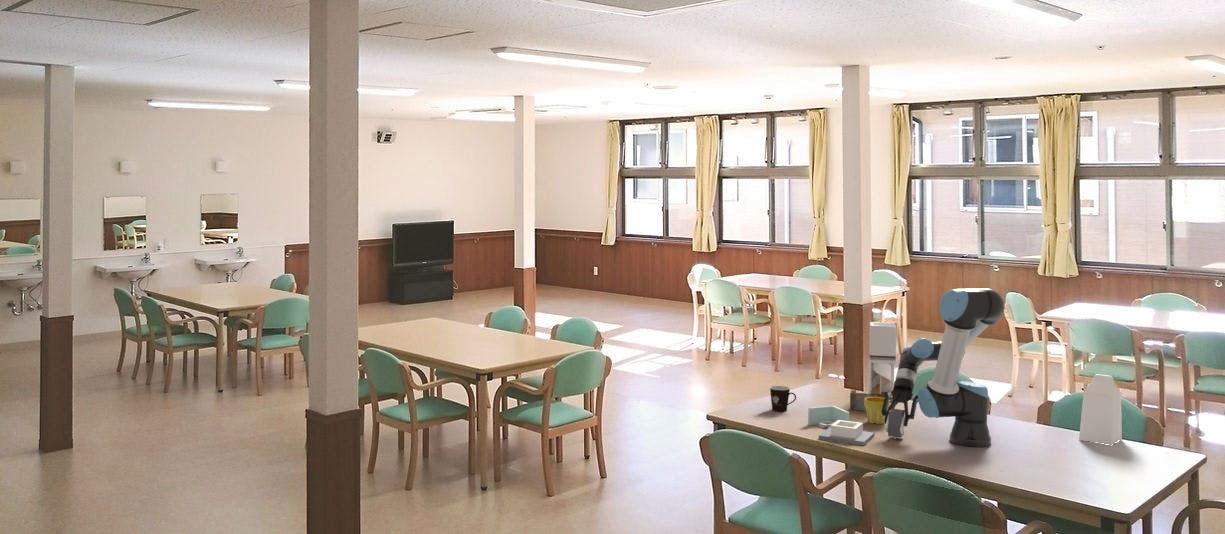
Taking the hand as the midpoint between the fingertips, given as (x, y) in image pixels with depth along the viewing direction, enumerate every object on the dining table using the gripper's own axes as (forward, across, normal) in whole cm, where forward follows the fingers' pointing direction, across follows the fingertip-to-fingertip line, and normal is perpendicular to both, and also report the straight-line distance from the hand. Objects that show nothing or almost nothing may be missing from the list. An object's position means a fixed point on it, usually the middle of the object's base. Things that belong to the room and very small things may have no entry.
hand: (893, 431), depth 372 cm
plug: (0, 0, -5) cm, 5 cm away
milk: (-26, -70, -32) cm, 81 cm away
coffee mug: (-14, +54, -19) cm, 59 cm away
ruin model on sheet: (-28, +24, -34) cm, 50 cm away
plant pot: (-15, +13, -20) cm, 29 cm away
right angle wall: (-3, +28, -9) cm, 30 cm away
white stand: (-46, +22, -52) cm, 73 cm away
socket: (+6, +17, +1) cm, 18 cm away
